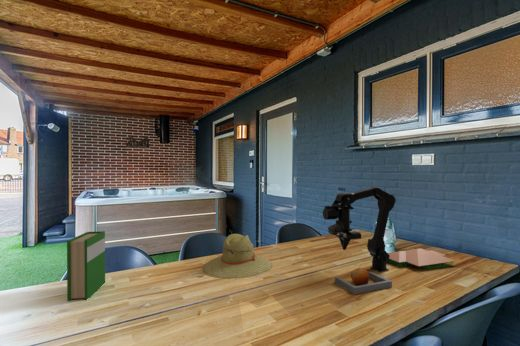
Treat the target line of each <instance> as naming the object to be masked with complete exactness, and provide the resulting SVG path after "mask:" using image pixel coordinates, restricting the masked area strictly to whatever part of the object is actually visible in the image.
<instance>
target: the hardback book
mask: <svg viewBox="0 0 520 346" xmlns="http://www.w3.org/2000/svg"><path fill="white" fill-rule="evenodd" d="M66 277H67V280H66V283H67V284H66V285H67V286H66V291H67V292H66V294H67V296H66V297H67V299H66V300H67V301H66V302H70V300H71V299H72V300H73V299H75V300H76V299H84V300H85V301H88V300H89V299H90V298H91V297H92V296H93V295H94V294H96V293H97V292H98V291H99V290H100V289H101V288H102V287H103V286H104V285H105V284H104V283H106V233H105V230H104V231H103V230H102V231H97V230H96V231H86V232H84V233H82V234H80V235H78V236H75V237H71V239H70V238H69V239H68V240H66ZM103 284H104V285H103ZM102 285H103V286H102ZM101 286H102V287H101ZM100 287H101V288H100ZM88 298H89V299H88ZM87 299H88V300H87ZM72 300H71V301H72Z"/></svg>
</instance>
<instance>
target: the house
mask: <svg viewBox="0 0 520 346" xmlns="http://www.w3.org/2000/svg"><path fill="white" fill-rule="evenodd" d="M387 253H388V254H389V255H390V257H389V259H388V260H389V264H392V265H394V264H395V265H398V266H399V268H400V267H402V263H405V266H406V267H408V265H409V264H410V265H412V266H416V267H420V268H422V269H423V268H424V270H425V271H426V270H428V266H429V270H432V269H433V268H434V266H436V269H439V268H442V267H443V268H445V266H448V263H450V267H453V263H454V262H456V260H455V259H452V258H449V257H447V255H446V254H443V253H441V252H438V251H435V250H432V249H431V250H427V249H424V248H413V249H409V250H400V251H394V252H393V251H392V252H387Z"/></svg>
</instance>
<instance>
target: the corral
mask: <svg viewBox="0 0 520 346" xmlns="http://www.w3.org/2000/svg"><path fill="white" fill-rule="evenodd" d="M368 273H369V277H370V278H369V279H371V280H373V281H375V282H372V283H368V284H366V285H354V284H352V283H350V282H348V281H346V280H344V279H342V278H341V277H338V276H334V283H335V284H336V285H338V286H340V287H342V288H343V289H345V290H346V291H348V292H350V293H352V294H354V295H358V294H363V293H368V292H373V291H374V292H375V291H379V290H383V289H387V288H388V289H389V288H392V287H393V281H392V280H390V279H387V278H385V277H383V276H381V275H379V274H377V273H374V272H372V271H368Z"/></svg>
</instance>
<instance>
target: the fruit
mask: <svg viewBox="0 0 520 346" xmlns="http://www.w3.org/2000/svg"><path fill="white" fill-rule="evenodd" d="M368 272H369V271H368V270H367V269H366V268H364V267H358V268H355V269H354V270H352V271H351V273H350V278H351V280H352V282H353V283H354V284H356V286H360V285H366V284H369V281H370V279H371V278H370V277H369V273H368Z"/></svg>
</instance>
